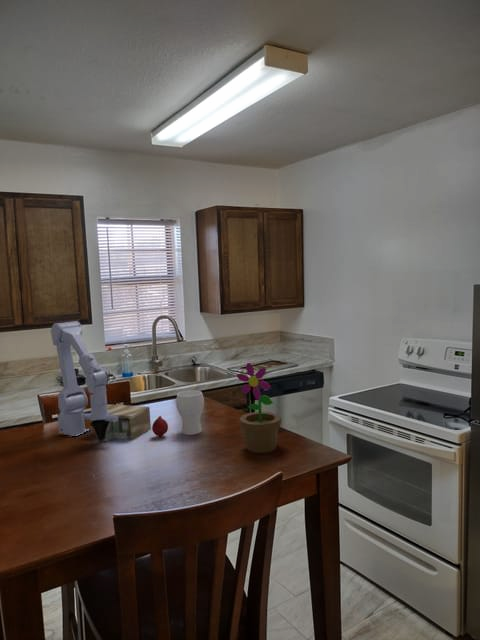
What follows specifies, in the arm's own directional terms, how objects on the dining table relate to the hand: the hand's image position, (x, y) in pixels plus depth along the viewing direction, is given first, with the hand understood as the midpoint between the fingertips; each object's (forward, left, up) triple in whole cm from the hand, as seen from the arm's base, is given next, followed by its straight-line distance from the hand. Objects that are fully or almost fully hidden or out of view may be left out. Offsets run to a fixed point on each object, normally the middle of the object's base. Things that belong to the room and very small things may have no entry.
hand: (101, 439), depth 168 cm
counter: (+1, +11, -1) cm, 11 cm away
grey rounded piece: (-4, +10, 0) cm, 11 cm away
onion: (+19, +10, -1) cm, 22 cm away
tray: (0, +8, -1) cm, 8 cm away
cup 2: (+28, +18, -1) cm, 33 cm away
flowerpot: (+59, +9, -1) cm, 60 cm away
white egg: (+4, +10, 0) cm, 11 cm away
